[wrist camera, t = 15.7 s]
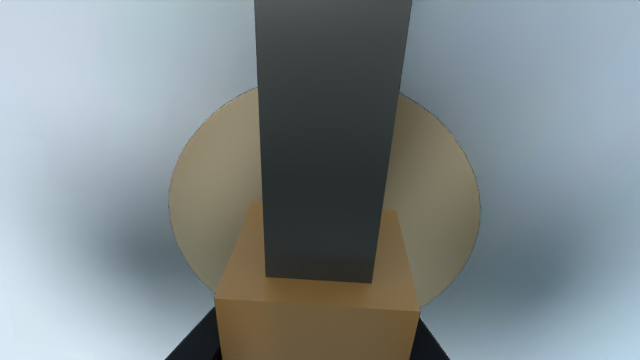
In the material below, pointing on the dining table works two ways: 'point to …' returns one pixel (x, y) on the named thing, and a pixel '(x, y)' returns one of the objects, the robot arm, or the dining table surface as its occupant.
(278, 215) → the tan block with bar
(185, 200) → the coaster
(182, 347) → the robot arm
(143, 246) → the dining table surface
